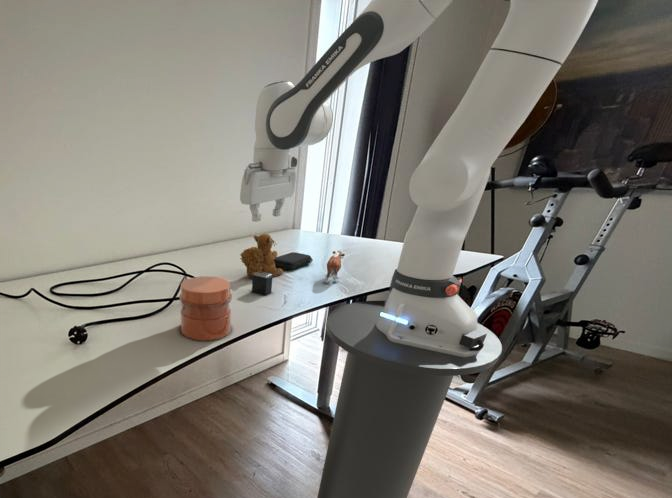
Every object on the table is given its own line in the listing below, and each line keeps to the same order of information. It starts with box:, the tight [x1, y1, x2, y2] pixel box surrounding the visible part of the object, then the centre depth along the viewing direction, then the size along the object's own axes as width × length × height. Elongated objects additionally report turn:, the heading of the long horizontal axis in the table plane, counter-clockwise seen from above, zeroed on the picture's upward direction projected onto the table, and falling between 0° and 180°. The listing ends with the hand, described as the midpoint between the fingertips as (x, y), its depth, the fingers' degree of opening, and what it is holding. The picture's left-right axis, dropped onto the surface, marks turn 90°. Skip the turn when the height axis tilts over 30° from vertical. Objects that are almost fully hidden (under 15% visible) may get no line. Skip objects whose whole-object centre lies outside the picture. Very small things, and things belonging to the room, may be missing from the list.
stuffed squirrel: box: [239, 233, 284, 279], centre depth 124 cm, size 10×14×13 cm
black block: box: [251, 271, 273, 296], centre depth 112 cm, size 5×3×6 cm, turn 45°
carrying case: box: [274, 251, 314, 271], centre depth 136 cm, size 11×3×15 cm
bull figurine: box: [324, 249, 345, 284], centre depth 120 cm, size 4×13×8 cm, turn 152°
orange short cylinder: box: [178, 275, 233, 341], centre depth 89 cm, size 12×12×12 cm
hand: (266, 218), depth 103 cm, fingers open, 8 cm apart
